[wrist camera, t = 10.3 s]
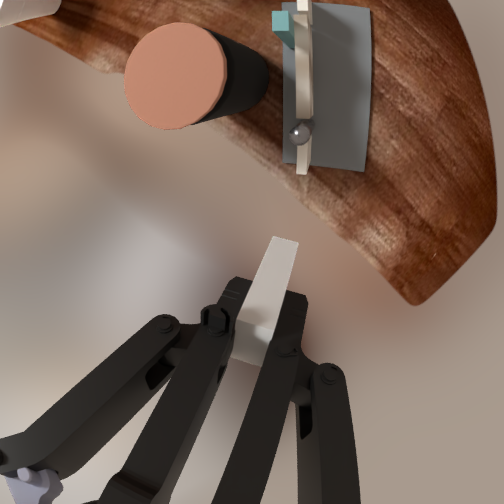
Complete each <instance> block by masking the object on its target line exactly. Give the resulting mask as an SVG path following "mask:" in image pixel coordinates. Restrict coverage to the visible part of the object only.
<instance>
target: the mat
mask: <svg viewBox="0 0 504 504" xmlns="http://www.w3.org/2000/svg"><path fill="white" fill-rule="evenodd" d="M282 11H289V13H290V15H291V16H292V18H293V20H294V16H293V15H299V13H298V11H297V2H282ZM312 23H313V25H311V28H312V49H313V116H312V117H311V119H312V120H313V121H314V122H315V128H314V130H313V132H312V143H311V161H310V165H313V166H322V167H331V168H339V169H346V170H353V171H360V172H364V168H365V159H366V150H367V140H368V128H369V115H370V97H371V25H370V8H364V7H357V6H349V5H340V4H328V3H312ZM302 120H303V119H300V118H296V66H295V48H289V47H288V46H287V45H286V44H285V43H284V42H283V160H282V163H293V164H297V145H294V144H293V143H292V142H291V141H290V139H289V133H290V131H291V129H293V128H294V127H295V126H296V125H297V124H298V123H299V122H301V121H302Z"/></svg>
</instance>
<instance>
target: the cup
mask: <svg viewBox="0 0 504 504" xmlns="http://www.w3.org/2000/svg"><path fill="white" fill-rule="evenodd" d="M60 4H61V0H0V28H1V27H4V26H7V25H9V24H14V23H17V22H20V21H24V20H28V19H32V18H36V17H41V16H46V15H51V14H54V13H55V12H56V11H57V10H58V8H59V7H60Z"/></svg>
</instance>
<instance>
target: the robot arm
mask: <svg viewBox="0 0 504 504" xmlns="http://www.w3.org/2000/svg"><path fill="white" fill-rule="evenodd" d="M298 244H299V243H298V242H294V241H290V240H287V239H283V238H279V237H275V236H273V237H272V239H271V242H270V244H269V246H268V249H267V251H266V253H265V255H264V258H263V260H262V262H261V265H260V267H259V269H258V271H257V274H256V276H255V278H254V281H251V280H247V279H244V278H240V277H237V276H236V277H235V278H233V279H232V280H230V281H229V282H228V284H227V286H226V288H225V290H224V291H223V293H222V296H221V297H220V299H219V300H218V302H217V304H213V305H209V306H206V307H204V308H203V309H202V311H201V323H199V324H180V323H179V321H178V320H177V319H176V318H175V317H174V316H171V315H167V314H162V315H158V316H156V317H154V318H153V319H152V320H150V321H149V322H148V323H147V324H146V325H145V326H143V327H142V328H141V329H140V330H139V331H138V332H136V333H135V334H134V335H133V336H132V337H131V338H129V339H128V340H127V341H126V342H125V343H124V344H122V345H121V346H120V347H119V348H118V349H117V350H115V352H113V353H112V354H111V355H110V356H109V357H108V358H107V359H105V360H104V361H103V362H102V363H101V364H99V365H98V366H97V367H96V368H95V369H94V370H93V371H91V372H90V373H89V374H88V375H87V376H86V377H85V378H84V379H82V380H81V381H80V382H79V383H78V384H77V385H75V386H74V387H73V388H72V389H71V390H70V391H69V392H68V393H66V394H65V395H64V396H63V397H62V398H61V399H60V400H59V401H57V402H56V403H55V404H54V405H53V406H52V407H51V408H50V409H49V410H47V411H46V412H45V413H44V414H43V415H42V416H41V417H40V418H38V419H37V420H36V421H35V422H34V423H33V424H32V425H31V426H30V427H28V428H27V429H26V430H25V431H24V432H21V433H18V434H15V435H12V436H8V437H5V438H1V439H0V474H1V475H4V476H5V479H6V481H7V484H8V486H9V489H10V491H11V494H12V496H13V498H14V500H15V503H16V504H52V501H53V500H54V499H55V498H56V497H57V496H59V495H60V493H61V492H62V491H63V485H62V483H61V482H60V480H62V479H65V478H67V477H69V476H71V475H72V474H74V473H75V472H77V471H78V470H79V469H80V468H82V467H83V466H84V465H85V464H86V463H87V462H88V461H89V460H90V459H91V458H92V457H93V456H94V455H95V454H96V453H97V452H98V451H99V450H100V449H101V448H102V447H103V446H104V445H105V444H106V443H107V442H108V441H110V439H111V438H112V437H113V436H115V434H116V433H117V432H118V431H120V430H121V429H122V427H124V425H126V423H128V422H129V421H130V420H131V419H132V418H133V416H134V415H135V414H136V413H137V412H138V411H139V410H140V409H141V408H142V407H143V406H144V405H145V404H146V403H147V402H148V401H149V400H150V399H151V398H152V397H153V396H154V395H155V394H156V393H157V392H158V391H159V390H160V389H161V388H162V387H163V386H164V385H165V384H166V382H168V380H169V379H170V378H171V379H170V381H169V383H168V385H167V386H166V389H165V390H164V392H163V394H162V396H161V397H160V399H159V401H158V403H157V405H156V407H155V409H154V410H153V412H152V414H151V416H150V418H149V419H148V421H147V423H146V425H145V427H144V429H143V430H142V433H141V434H140V436H139V438H138V440H137V442H136V443H135V445H134V447H133V449H132V451H131V453H130V455H129V456H128V459H127V460H126V462H125V464H124V466H123V467H122V469H121V470H120V471H119V472H118V473H117V474H115V475H113V476H112V478H111V479H110V480H109V482H108V483H107V485H106V487H105V489H104V491H103V493H102V494H101V496H100V498H99V500H94V501H90V502H87V503H83V504H169V502H170V498H171V494H172V492H173V489H174V487H175V485H176V483H177V480H178V479H179V476H180V474H181V472H182V470H183V467H184V465H185V463H186V461H187V459H188V456H189V454H190V452H191V450H192V447H193V445H194V443H195V440H196V438H197V436H198V434H199V432H200V429H201V427H202V424H203V422H204V420H205V418H206V415H207V413H208V411H209V408H210V406H211V404H212V401H213V399H214V396H215V394H216V392H217V390H218V387H219V385H220V383H221V380H222V378H223V376H224V373H225V371H226V368H227V364H228V359H229V357H230V355H231V357H232V358H235V359H238V360H241V361H244V362H247V363H251V364H254V365H257V366H261V370H260V373H259V376H258V379H257V382H256V385H255V388H254V391H253V394H252V397H251V400H250V403H249V405H248V408H247V411H246V414H245V417H244V420H243V422H242V425H241V428H240V431H239V434H238V437H237V439H236V442H235V444H234V447H233V450H232V452H231V455H230V458H229V461H228V463H227V465H226V468H225V471H224V473H223V476H222V478H221V481H220V483H219V486H218V488H217V491H216V493H215V496H214V498H213V500H212V503H211V504H260V502H261V499H262V496H263V493H264V490H265V486H266V484H267V480H268V477H269V474H270V471H271V467H272V464H273V461H274V457H275V454H276V451H277V447H278V444H279V440H280V436H281V433H282V429H283V426H284V422H285V418H286V414H287V410H288V406H289V402H290V401H292V402H294V403H295V407H296V430H297V431H296V432H297V464H298V465H297V469H298V504H361V501H360V486H359V475H358V466H357V456H356V447H355V439H354V432H353V424H352V417H351V411H350V405H349V397H348V391H347V386H346V380H345V376H344V373H343V371H342V370H341V369H340V368H339V367H338V366H336V365H335V364H331V363H323V364H320V365H318V364H316V363H315V362H313V361H311V360H310V359H308V358H307V357H306V356H305V355H304V353H303V352H302V349H301V339H302V334H303V329H304V324H305V319H306V314H307V308H308V301H307V298H306V296H305V295H303V294H299V293H295V292H292V291H288V290H286V288H287V285H288V281H289V278H290V274H291V270H292V267H293V263H294V259H295V255H296V252H297V248H298Z"/></svg>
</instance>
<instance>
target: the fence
mask: <svg viewBox="0 0 504 504" xmlns="http://www.w3.org/2000/svg"><path fill="white" fill-rule="evenodd" d="M297 11H298V13H299V15H307V16H308V19H309V22H310V25H313V23H312V2H311V0H297ZM311 143H312V134H311V135H310V137H309V139H308V141H307V143H306V144H304V145H302V146H297V171H296V174H303V175H306V174H307V171H308V168H309V165H310V161H311Z"/></svg>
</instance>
